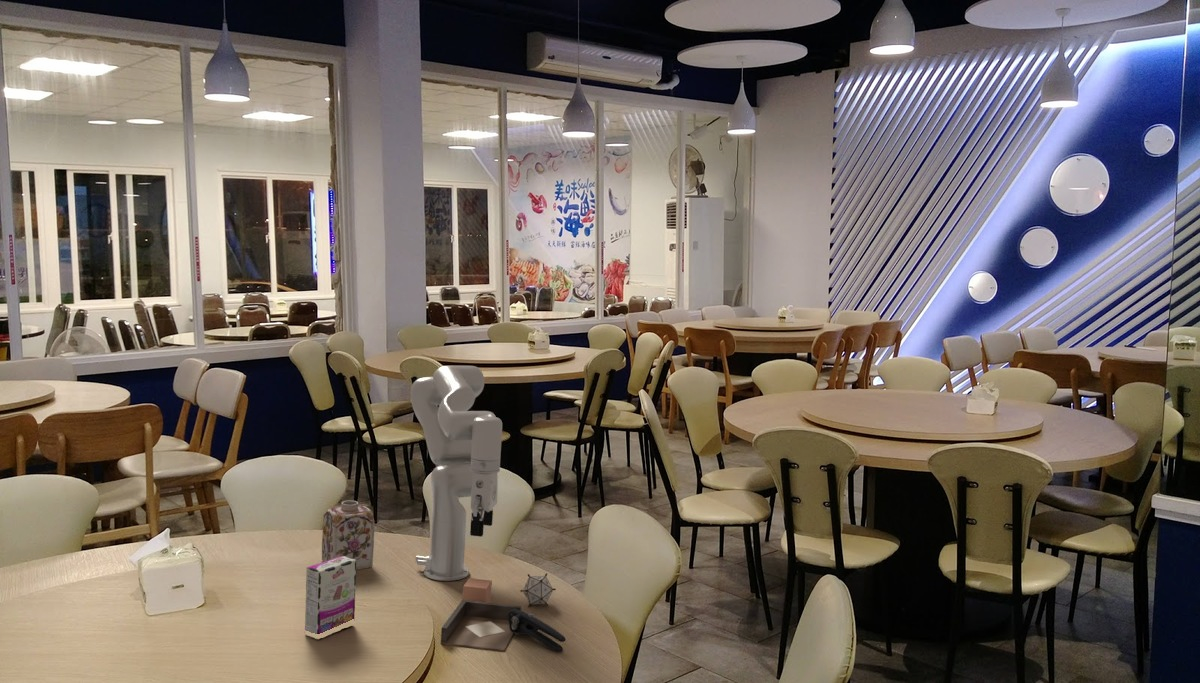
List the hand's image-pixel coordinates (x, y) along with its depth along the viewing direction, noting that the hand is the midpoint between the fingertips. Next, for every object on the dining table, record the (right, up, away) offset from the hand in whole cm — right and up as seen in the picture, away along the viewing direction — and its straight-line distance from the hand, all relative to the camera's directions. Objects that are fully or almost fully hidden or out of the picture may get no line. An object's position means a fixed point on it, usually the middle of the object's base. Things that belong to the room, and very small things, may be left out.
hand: (481, 530), depth 229 cm
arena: (+2, -21, -15) cm, 26 cm away
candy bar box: (-33, -20, -20) cm, 43 cm away
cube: (-1, -20, +2) cm, 20 cm away
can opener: (+15, -23, -17) cm, 32 cm away
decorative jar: (-42, -15, +25) cm, 51 cm away
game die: (+14, -21, +5) cm, 26 cm away
